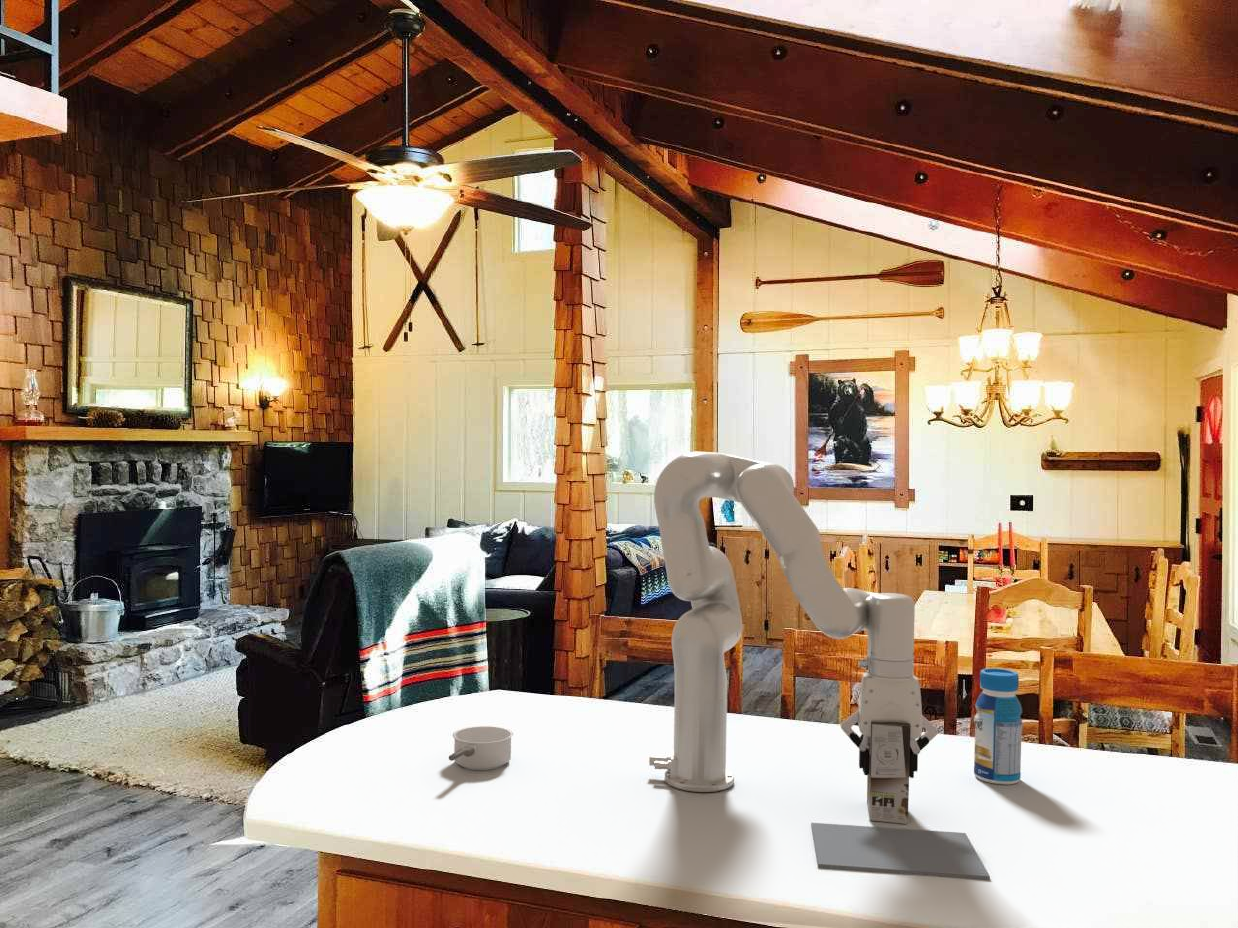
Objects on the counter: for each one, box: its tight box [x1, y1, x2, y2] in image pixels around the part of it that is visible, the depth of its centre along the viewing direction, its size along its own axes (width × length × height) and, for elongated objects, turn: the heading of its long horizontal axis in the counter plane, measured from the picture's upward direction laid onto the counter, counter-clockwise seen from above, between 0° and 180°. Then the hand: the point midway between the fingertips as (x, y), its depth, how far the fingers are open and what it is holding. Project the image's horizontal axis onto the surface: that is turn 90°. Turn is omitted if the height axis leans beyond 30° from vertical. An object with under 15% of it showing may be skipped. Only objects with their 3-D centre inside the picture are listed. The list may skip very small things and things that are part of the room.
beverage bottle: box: [973, 667, 1024, 786], centre depth 183 cm, size 8×8×20 cm
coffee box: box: [866, 722, 911, 825], centre depth 164 cm, size 9×6×16 cm
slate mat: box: [810, 822, 991, 881], centre depth 148 cm, size 24×16×1 cm, turn 82°
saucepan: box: [448, 725, 514, 771], centre depth 183 cm, size 12×20×6 cm, turn 165°
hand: (887, 772), depth 164 cm, fingers closed on coffee box, 6 cm apart
